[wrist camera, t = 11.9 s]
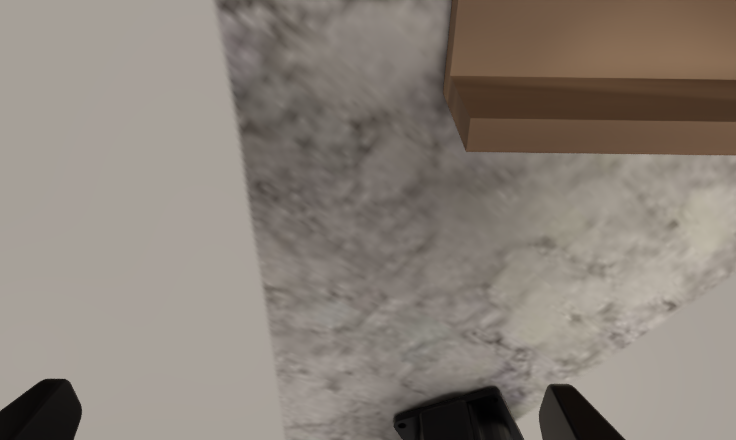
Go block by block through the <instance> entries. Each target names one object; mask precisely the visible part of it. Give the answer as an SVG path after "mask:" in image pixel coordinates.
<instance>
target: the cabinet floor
mask: <svg viewBox="0 0 736 440" xmlns="http://www.w3.org/2000/svg"><path fill="white" fill-rule="evenodd" d="M443 94H444V97H445V99H446V102H447V104H448V107H449V109H450V112H451V114H452V117H453V120H454V122H455V125H456V127H457V130H458V132H459V135H460V137H461V140H462V142H463V145H464V148H465V150H466V152H526V153H600V154H675V155H736V0H452V7H451V18H450V28H449V38H448V48H447V58H446V68H445V78H444V88H443Z"/></svg>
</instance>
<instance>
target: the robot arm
mask: <svg viewBox="0 0 736 440" xmlns="http://www.w3.org/2000/svg"><path fill="white" fill-rule="evenodd" d="M81 415H82V408H81V404H80V402H79V400H78V397H77V395H76V393H75V391H74V389H73V387H72V385H71V383H70V382H69V381H68V380H66V379H45V380H42V381H40V382H39V383H37V384H36V385H34V386H33V387H32V388H30V389H29V390H28V391H26V392H25V393H24V394H22V395H21V396H20V397H18V398H17V399H16V400H14V401H13V402H12V403H10V404H9V405H8V406H6V407H5V408H4V409H2V410H1V411H0V440H74V437H75V434H76V431H77V429H78V425H79V423H80V420H81ZM393 422H394V428H395V430H396V431H397V432H398V434H399V435H400V436H401V438H402V439H403V440H524V438H523V436H522V434H521V432H520V430H519V428H518V426H517V424H516V422H515V420H514V418H513V416H512V414H511V412H510V410H509V408H508V406H507V404H506V402H505V400H504V398H503V396H502V394H501V392H500V391H499V390H498V389H494V388H492V389H487V390H484V391H480V392H477V393H473V394H470V395H466V396H463V397H459V398H456V399H452V400H449V401H445V402H442V403H438V404H435V405H431V406H428V407H424V408H421V409H417V410H414V411H410V412H407V413H403V414H400V415H397V416H395V417H394V420H393ZM539 422H540V428H541V433H542V438H543V440H625V439H624V438H623V437H622V436H621V435H620V434H619V433H618V432H617V430H615V428H614V427H613V426H612V425H611V424H610V423H609V422H608V421H607V420H606V419H605V418H604V417H603V416H602V415H601V414H600V413H599V412H598V411H597V410H596V409H595V408H594V407H593V406H592V405H591V404H590V403H589V402H588V401H587V400H586V399H585V398H584V397H583V396H582V395H581V394H580V393H579V392H578V391H577V389H576V388H574V387H573V386H572V385H569V384H550V385H549V386H548V387H547V389H546V392H545V395H544V398H543V401H542V404H541V407H540V411H539Z"/></svg>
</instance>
